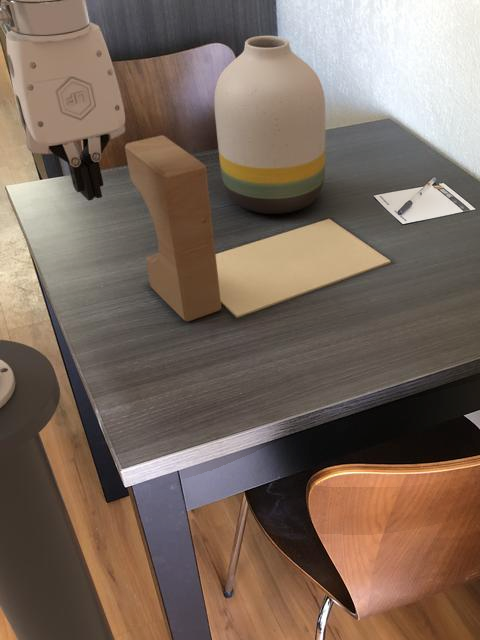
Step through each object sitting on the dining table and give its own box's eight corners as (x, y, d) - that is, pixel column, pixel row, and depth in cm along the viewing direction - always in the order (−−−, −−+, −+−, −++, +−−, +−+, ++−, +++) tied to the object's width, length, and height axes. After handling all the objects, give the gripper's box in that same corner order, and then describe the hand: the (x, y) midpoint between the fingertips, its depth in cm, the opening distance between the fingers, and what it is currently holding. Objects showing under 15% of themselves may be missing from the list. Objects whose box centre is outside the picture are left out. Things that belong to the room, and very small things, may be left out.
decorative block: (149, 287, 102) (122, 142, 88) (186, 275, 104) (165, 133, 91) (184, 324, 96) (161, 175, 82) (223, 311, 98) (207, 164, 84)
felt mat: (236, 318, 97) (236, 315, 97) (182, 266, 106) (182, 264, 106) (390, 263, 108) (390, 260, 108) (329, 220, 117) (329, 218, 117)
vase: (249, 172, 130) (238, 20, 113) (338, 187, 126) (341, 32, 109) (206, 214, 118) (187, 51, 102) (303, 231, 114) (300, 65, 98)
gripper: (-19, 36, 66) (37, 225, 79) (135, 12, 72) (164, 190, 85) (-42, 17, 70) (15, 198, 83) (105, -4, 76) (137, 168, 89)
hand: (90, 194), depth 84 cm, fingers closed
